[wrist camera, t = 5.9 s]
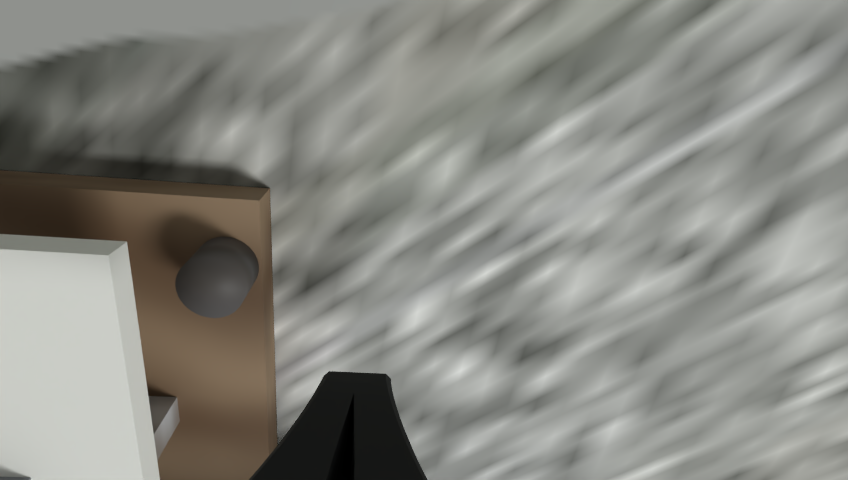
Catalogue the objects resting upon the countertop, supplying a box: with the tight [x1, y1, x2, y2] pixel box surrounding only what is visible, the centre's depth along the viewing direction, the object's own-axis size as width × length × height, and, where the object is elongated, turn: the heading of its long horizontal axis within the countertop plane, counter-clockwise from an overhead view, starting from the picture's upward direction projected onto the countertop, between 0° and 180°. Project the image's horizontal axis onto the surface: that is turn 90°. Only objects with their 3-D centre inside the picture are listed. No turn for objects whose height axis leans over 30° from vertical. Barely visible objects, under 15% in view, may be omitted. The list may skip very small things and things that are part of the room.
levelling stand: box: [0, 170, 277, 480], centre depth 20 cm, size 18×16×4 cm
